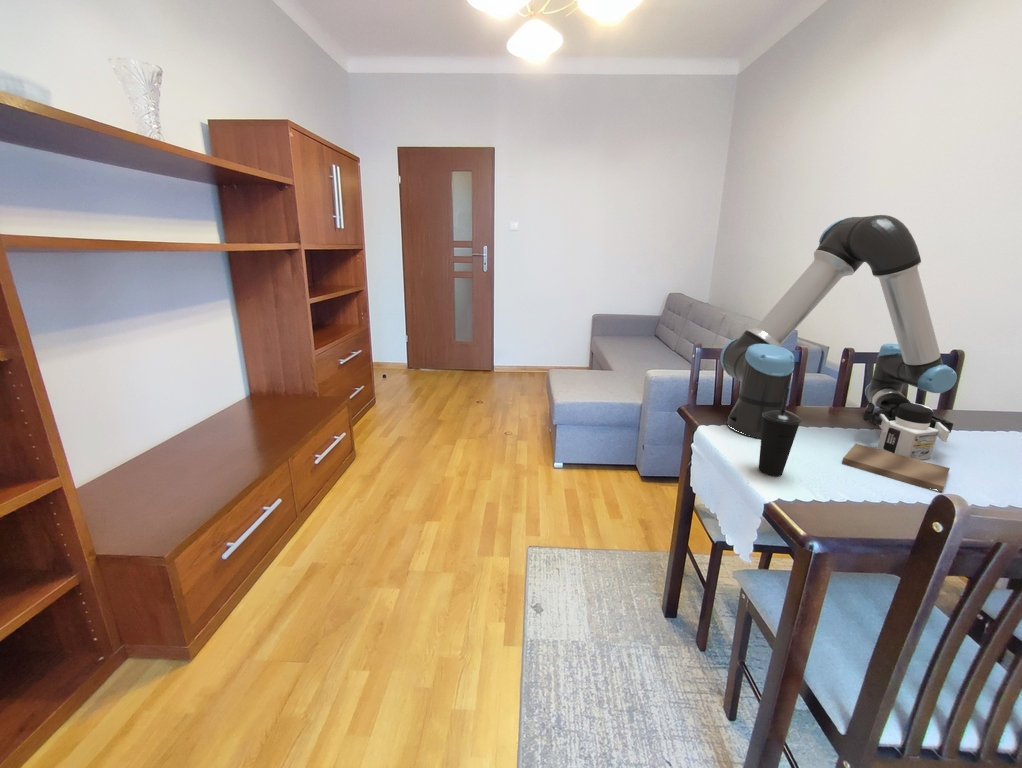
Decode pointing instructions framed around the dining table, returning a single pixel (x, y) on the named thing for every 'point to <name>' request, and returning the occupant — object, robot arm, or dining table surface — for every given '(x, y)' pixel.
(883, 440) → the container
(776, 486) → the dining table surface
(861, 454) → the serving board
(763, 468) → the drinking cup
